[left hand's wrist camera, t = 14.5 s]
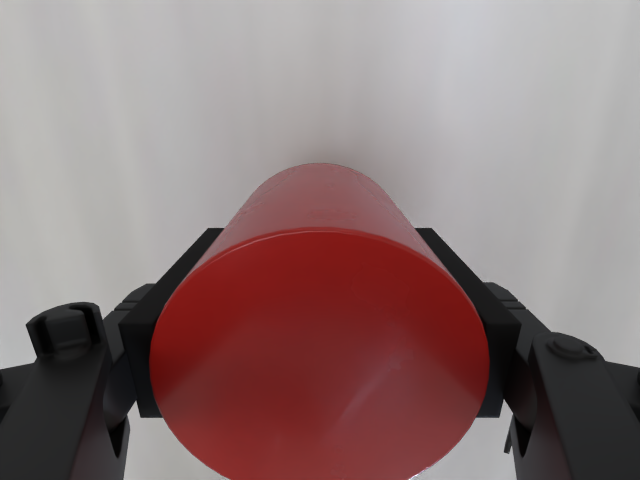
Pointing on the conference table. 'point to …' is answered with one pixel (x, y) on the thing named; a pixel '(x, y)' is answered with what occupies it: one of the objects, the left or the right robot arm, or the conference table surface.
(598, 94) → the conference table surface
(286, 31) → the conference table surface
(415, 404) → the canister
